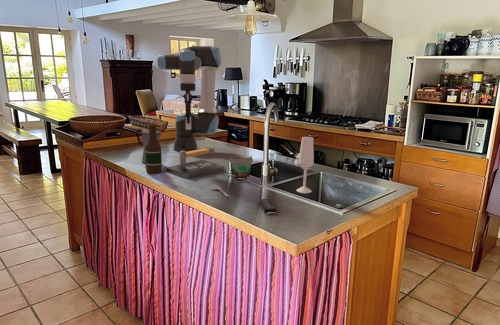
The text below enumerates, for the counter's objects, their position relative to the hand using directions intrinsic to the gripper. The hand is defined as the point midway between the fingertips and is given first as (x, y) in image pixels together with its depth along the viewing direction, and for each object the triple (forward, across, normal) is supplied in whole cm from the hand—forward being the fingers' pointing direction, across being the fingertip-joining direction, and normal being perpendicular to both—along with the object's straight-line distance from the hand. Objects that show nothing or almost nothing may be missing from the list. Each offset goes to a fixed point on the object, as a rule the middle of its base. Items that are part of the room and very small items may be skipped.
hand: (188, 128), depth 194 cm
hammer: (+18, +7, +4) cm, 20 cm away
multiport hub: (+21, +61, +32) cm, 72 cm away
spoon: (+21, +43, +15) cm, 51 cm away
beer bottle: (+21, +9, -17) cm, 28 cm away
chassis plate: (+21, +7, +4) cm, 22 cm away
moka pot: (+21, -10, -22) cm, 32 cm away
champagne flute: (+21, +41, +52) cm, 69 cm away
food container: (+21, +21, +27) cm, 40 cm away
